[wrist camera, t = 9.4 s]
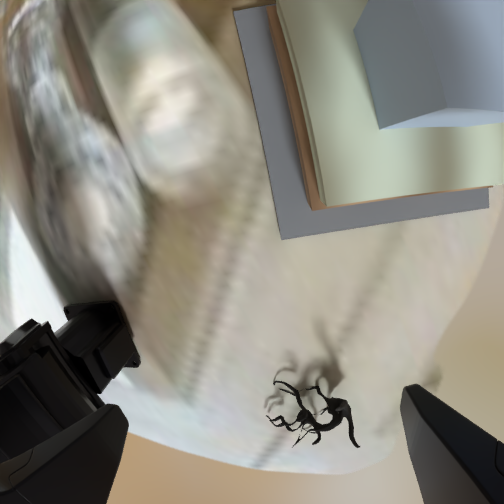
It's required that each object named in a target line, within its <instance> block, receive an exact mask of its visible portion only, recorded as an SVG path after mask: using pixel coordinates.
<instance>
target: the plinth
mask: <svg viewBox="0 0 504 504" xmlns="http://www.w3.org/2000/svg"><path fill="white" fill-rule="evenodd" d="M367 2H368V0H276V5H274V6H267V7H266V9H267V16H268V23H269V29H270V33H271V36H272V40H273V44H274V47H275V51H276V55H277V59H278V63H279V67H280V71H281V75H282V79H283V83H284V87H285V92H286V96H287V100H288V105H289V109H290V114H291V118H292V123H293V128H294V132H295V137H296V142H297V147H298V152H299V157H300V163H301V168H302V173H303V179H304V184H305V190H306V196H307V202H308V205H309V207H310V208H311V210H312V211H316V210H322V209H328V208H335V207H341V206H348V205H355V204H362V203H369V202H376V201H383V200H390V199H397V198H405V197H412V196H420V195H428V194H436V193H444V192H453V191H462V190H471V189H480V188H489V187H493V185H503V184H504V122H503V123H493V124H485V125H477V126H470V127H417V128H397V129H382V130H379V125H378V120H377V115H376V111H375V106H374V102H373V98H372V93H371V89H370V85H369V82H368V78H367V74H366V70H365V67H364V63H363V60H362V56H361V53H360V50H359V47H358V44H357V40H356V37H355V34H354V31H353V29H354V27H355V25H356V24H357V22H358V20H359V18H360V16H361V14H362V12H363V10H364V8H365V6H366V4H367Z"/></svg>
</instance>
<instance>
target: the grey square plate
mask: <svg viewBox="0 0 504 504" xmlns="http://www.w3.org/2000/svg"><path fill="white" fill-rule="evenodd" d="M274 5H276V4H271V5H265V6H259V7H253V8H248V9H243V10H238V11H234V12H233V13H234V17H235V21H236V25H237V29H238V33H239V37H240V41H241V45H242V50H243V54H244V58H245V63H246V67H247V71H248V76H249V80H250V85H251V89H252V94H253V98H254V103H255V107H256V112H257V117H258V121H259V126H260V131H261V136H262V141H263V145H264V150H265V155H266V160H267V165H268V170H269V176H270V181H271V186H272V191H273V196H274V202H275V207H276V212H277V218H278V223H279V229H280V234H281V240H285V239H291V238H297V237H303V236H310V235H316V234H322V233H328V232H335V231H341V230H347V229H354V228H360V227H366V226H373V225H379V224H386V223H392V222H398V221H405V220H411V219H418V218H424V217H431V216H438V215H444V214H451V213H458V212H464V211H471V210H478V209H484V208H489V192H488V188H480V189H471V190H462V191H453V192H444V193H436V194H428V195H420V196H412V197H405V198H397V199H390V200H383V201H376V202H369V203H362V204H355V205H348V206H341V207H335V208H328V209H322V210H316V211H312V210H311V208H310V207H309V205H308V202H307V196H306V190H305V184H304V179H303V173H302V168H301V163H300V157H299V152H298V147H297V142H296V137H295V132H294V128H293V123H292V118H291V114H290V109H289V105H288V100H287V96H286V92H285V87H284V83H283V79H282V75H281V71H280V67H279V63H278V59H277V55H276V51H275V47H274V44H273V40H272V36H271V33H270V29H269V23H268V16H267V9H266V7H267V6H274Z"/></svg>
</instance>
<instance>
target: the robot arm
mask: <svg viewBox="0 0 504 504" xmlns="http://www.w3.org/2000/svg"><path fill="white" fill-rule="evenodd" d="M111 306H113V308H114V309H113V308H112V307H111ZM64 313H65V315H66V318H67V320H68V322H67V323H66V324H64V325H63V326H62V327H61V328H60V329H58V330H57V331H56V332H55V333H54V332H53V331H52V329H51V325H50V324H49V322H48V321H47V322H45V323H43V324H40V323H37V322H36V321H35V320H33V319H30V320H28V321H27V322H25V323H24V324H23V325H21V326H20V327H19V328H17V329H16V330H15V331H14V332H12V333H11V334H10V335H9V336H8V337H7V338H6V339H5V340H3V341H2V342H1V343H0V504H106V503H107V500H108V497H109V494H110V491H111V488H112V485H113V482H114V478H115V476H116V473H117V470H118V467H119V464H120V461H121V456H122V453H123V448H124V444H125V440H126V435H127V431H128V427H129V423H128V420H127V418H126V417H125V415H124V414H123V412H122V410H121V409H120V407H119V406H118V405H115V404H105V403H104V402H103V401H102V400H101V398H100V397H99V396H98V395H97V394H101V393H102V392H103V390H104V389H105V388H106V386H107V385H108V384H109V382H110V381H111V380H112V379H114V378H116V376H117V375H118V373H119V372H120V371H121V369H122V368H123V367H133V368H137V367H139V365H140V364H141V361H140V359H139V356H138V354H137V352H136V349H135V347H134V345H133V342H132V340H131V338H130V335H129V333H128V330H127V328H126V325H125V323H124V320H123V317H122V315H121V312H120V309H119V307H118V305H117V303H116V302H115V301H102V302H92V303H82V304H71V305H66V306H65V307H64ZM134 361H135V362H136V363H135V362H134ZM400 411H401V416H402V421H403V426H404V430H405V435H406V440H407V445H408V451H409V455H410V458H411V461H412V465H413V468H414V471H415V474H416V477H417V481H418V484H419V487H420V491H421V494H422V498H423V501H424V504H504V444H503V443H502V442H501V441H497V439H496V438H495V437H493V436H492V435H490V434H489V433H487V432H486V431H484V430H483V429H482V428H480V427H479V426H477V425H476V424H474V423H473V422H471V421H470V420H469V419H467V418H466V417H464V416H463V415H461V414H460V413H458V412H457V411H456V410H454V409H453V408H451V407H450V406H448V405H447V404H445V403H444V402H443V401H441V400H440V399H438V398H437V397H436V396H434V395H433V394H431V393H430V392H428V391H427V390H426V389H424V388H423V387H421V386H420V385H418V384H412V385H409V386H405V387H404V388H403V392H402V398H401V404H400Z"/></svg>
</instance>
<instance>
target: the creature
mask: <svg viewBox="0 0 504 504" xmlns="http://www.w3.org/2000/svg"><path fill="white" fill-rule="evenodd" d="M276 382H278V383H283V384H285V385H286V386H287V387H288V388H290V389H291V390H292V391H293V392H294V394H292V393H290V392H287V391H285V390H283V389H280V390H282V391H285V392H287V393H290V394H292V395H294V396H296V399H297V402H298V404H299V406H300V407H301V409H302V410H301V411H300V412H299V414H298V416H297V419H296V421H297V422H301V424H300V426H299V427H298V428H300V427H301V426H302V424H303V426H304V425H305V424H307V423H308V424H311V425H312V426H313V427H314V429H310V430H308V431H307V430H306V431H307V433H308V432H309V431H315V432H310V433H317V434H318V438H317V439H316V440H315V441H314V442H313V444H312V445H314V444H317V443H318V442H319V441H320V440H321V433H320V431H329V430H331V429H333V428H335V427H336V426H338V425H339V424H340V423H341V421H342V419H343V417H346V418H347V420H348V423H349V437H350V440H351V441H352V443H353V444H354V446H355V447H357V448H359V447H360V446H358V444H357V443H356V441H355V438H354V426H353V421H352V416H351V408H350V406H349V405H348V402H347V400H343V399H340V398H333V397H332V398H330V399H329V398H327V397H325V396H324V395H323V394H322V393H321V391H320V388H319V386H314V387H312V388H310V389H306V390H312V389H317V393H318V394H319V395H321V396H322V397H323V398H324V399H325V401H326V402H327V404H328V406H329V407H327V408H326V409H325V410H324V411H323V412H322V413H321V414H323V413H324V412H325V411H326V410H328V413H329V414H332V415H333V419H332V420H331V422H330V423H328V424H323V425H322V424H320V423H318V422H316V420H315V419H314V417H313V415H315V414H313V415H312V414H311V412H310V411H309V410H306V408H305V407H304V406H303V405H302V400H301V398H300V394H299V392H300V391H299V392H298V390H297V389H295V388H294V387H292V386H291V385H289V384H287V383H286V382H282V381H275V382H274V383H273V384H274V385H275V383H276ZM303 390H304V389H303ZM321 414H320V415H321ZM266 416H267V415H266ZM267 417H268V416H267ZM268 418H269V417H268ZM269 419H270V418H269ZM279 419H281V421H282V423H281V424H279V425H275V424H274V423H273V422H272V421H277V420H279ZM270 421H271V422H272V423H273V424H274V426H276V427H282V426H284V425H285V426H286V428H287V429H288V430H289V431H292V432H293V431H295V430H297V429H298V428H297V429H294V430H292V429H291V428H290V427H289V426H291V425H293V424H294V423H295V422H296V421H295V422H293V423H292V424H288V423H287V422H286V421H285V420H284V417H283V416H281V415H280V416H278V417H276V418H275V419H273V420H271V419H270ZM303 426H302V429H303ZM304 430H305V429H304ZM301 431H302V430H301ZM307 433H306V434H307ZM306 434H305V435H306ZM305 435H304V436H305ZM304 436H303V437H304ZM299 437H300V436H299ZM303 437H302V438H303ZM302 438H301V439H302ZM301 439H299V438H298V440H297V442H296V443H295V444H294V445H296V444H297V443H298V442H299V441H300V440H301Z"/></svg>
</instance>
